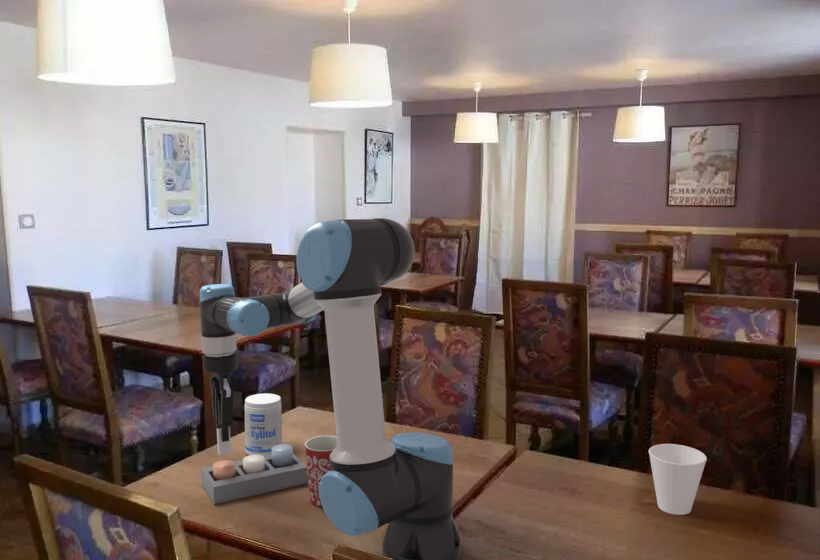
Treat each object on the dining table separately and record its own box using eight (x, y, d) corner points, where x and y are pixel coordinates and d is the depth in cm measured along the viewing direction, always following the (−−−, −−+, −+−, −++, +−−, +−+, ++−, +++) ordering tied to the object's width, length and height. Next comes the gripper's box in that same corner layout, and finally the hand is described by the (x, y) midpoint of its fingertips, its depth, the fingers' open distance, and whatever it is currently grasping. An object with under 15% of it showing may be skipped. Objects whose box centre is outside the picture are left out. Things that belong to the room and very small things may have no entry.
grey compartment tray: (307, 483, 163) (307, 467, 163) (213, 504, 153) (213, 487, 152) (290, 465, 174) (289, 450, 173) (201, 483, 163) (200, 467, 162)
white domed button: (267, 474, 162) (267, 460, 161) (246, 479, 159) (246, 464, 159) (261, 467, 166) (260, 453, 166) (240, 471, 164) (240, 457, 163)
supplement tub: (250, 461, 176) (248, 406, 174) (241, 449, 184) (239, 396, 182) (287, 454, 181) (285, 400, 179) (276, 442, 189) (275, 390, 187)
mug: (334, 512, 149) (333, 452, 147) (298, 504, 152) (296, 446, 151) (360, 488, 160) (359, 433, 159) (326, 482, 164) (325, 427, 162)
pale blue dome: (295, 463, 165) (295, 449, 164) (275, 467, 163) (275, 453, 162) (288, 456, 169) (288, 442, 169) (269, 460, 167) (268, 446, 166)
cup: (667, 523, 144) (670, 467, 142) (635, 498, 155) (637, 446, 154) (715, 516, 147) (719, 461, 145) (680, 492, 159) (683, 441, 157)
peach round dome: (238, 480, 158) (237, 466, 158) (216, 485, 156) (215, 470, 155) (232, 472, 163) (231, 458, 162) (211, 477, 160) (210, 462, 160)
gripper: (244, 356, 151) (248, 459, 154) (228, 345, 163) (233, 441, 166) (209, 361, 148) (214, 466, 151) (196, 349, 159) (201, 447, 162)
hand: (224, 453), depth 158 cm, fingers closed
